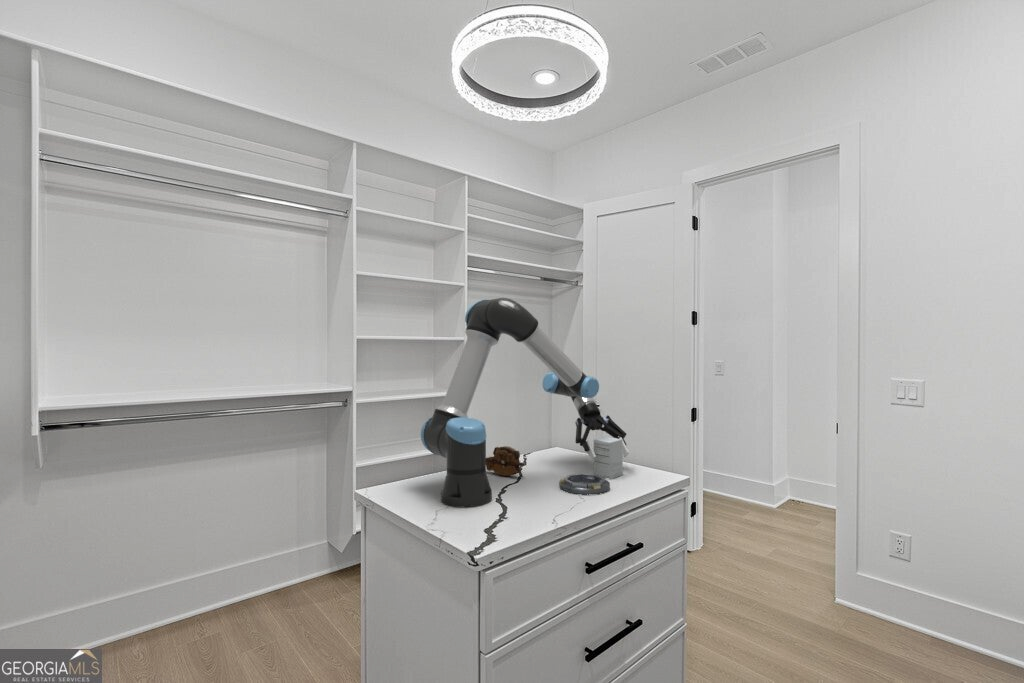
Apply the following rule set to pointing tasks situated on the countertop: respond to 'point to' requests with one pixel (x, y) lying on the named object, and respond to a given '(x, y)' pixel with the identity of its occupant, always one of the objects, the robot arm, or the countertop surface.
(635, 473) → the countertop surface
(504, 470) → the wooden carving
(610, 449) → the supplement box
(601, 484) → the ring
